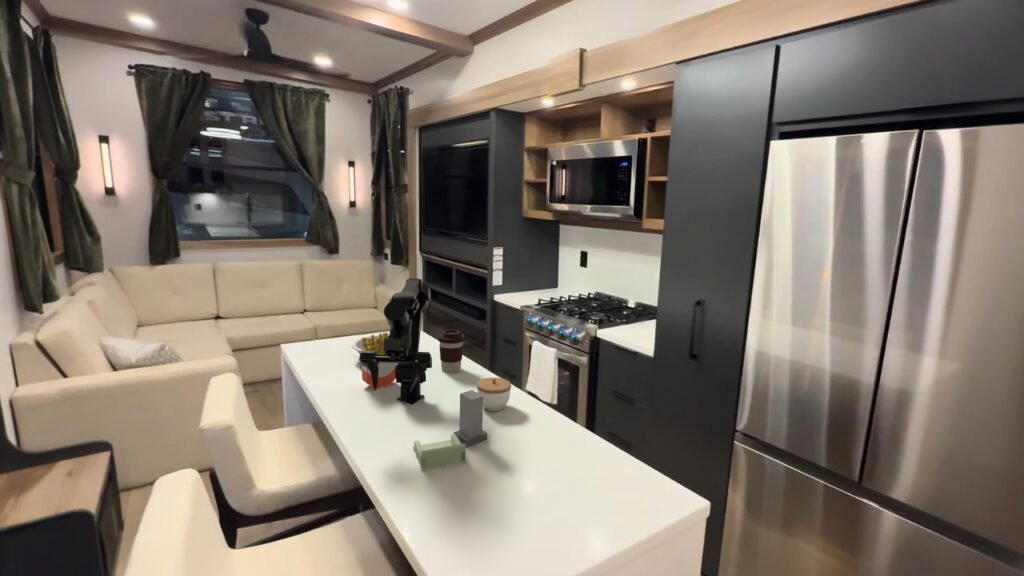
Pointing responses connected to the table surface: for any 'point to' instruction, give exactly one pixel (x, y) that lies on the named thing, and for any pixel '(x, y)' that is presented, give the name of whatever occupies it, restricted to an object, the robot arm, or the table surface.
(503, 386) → the lidded jar
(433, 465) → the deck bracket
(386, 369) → the french fries container
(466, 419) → the grey pillar on base
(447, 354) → the coffee cup
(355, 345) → the soup bowl
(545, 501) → the table surface
